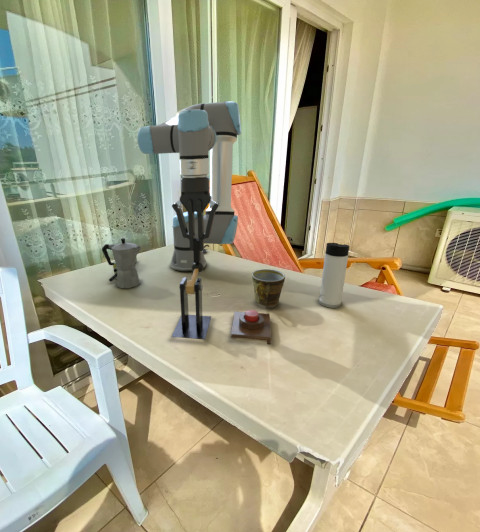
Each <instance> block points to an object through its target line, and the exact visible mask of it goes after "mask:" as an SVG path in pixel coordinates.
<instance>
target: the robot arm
mask: <svg viewBox="0 0 480 532" xmlns="http://www.w3.org/2000/svg"><path fill="white" fill-rule="evenodd" d="M241 134H242V125H241V114H240V106H239V104H238V102H236V101H226V100H224V101H217V102H206V103H195V104H193V105H190V106H187V107H185V108H183V109H180V110H178V111H177V112H176V113H175V114H174V115H173V117H171V118H169V119H166V120H164V121H163V122H161V123H158V124H156V125H147V126H141V127H140V128H139V129H138V131H137V135H136V136H137V145H138V149H139V150H140V152H141V153H143V154H144V155H158V154H159V155H160V154H161V155H162V154H178V155H179V175H180V176H182V177H181V178H180V196H179V200H177V201H176V202H174V203H172V205H171V208H172V210H173V211H174V212H175V215H174V216H173V218H172V235H173V252H172V256H171V260H170V267H171V269H172V270H174V271H177V272H188V273H189V272H194V271H193V270H192V265H193V263H199V262H201V263H202V264H203V269H204V268H205V267H206V266H207V260H206V257H205V255H204V254H206V253H207V249H205V248H206V247H208V248H209V247H210V245H209V244H211V245H231V244H233V243H234V241H235V238H236V235H237V230H238V222H239V216H238V215H237V214H235V210H234V209H233V207H232V179H233V150H234V149H233V148H234V144H235V143H236V142H237V140H238V136H240V135H241ZM209 152H210V155H209ZM208 175H209V176H208ZM207 207H208V208H207ZM182 208H184V209H185V210H186V211H185V212H183V209H182ZM204 213H205V214H204Z"/></svg>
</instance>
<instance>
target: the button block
mask: <svg viewBox="0 0 480 532" xmlns="http://www.w3.org/2000/svg"><path fill="white" fill-rule="evenodd" d="M245 312H246V311H234V312H233V320H232V326H231V333H230V338H232V339H233V338H234V339H244V340H245V339H246V340H255V341H266V345H271V344H272V332H271V331H272V329H271V317H270V313H264V312H258V313H259V316H258V321H255V322H250V321H247V320H245Z"/></svg>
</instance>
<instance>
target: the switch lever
mask: <svg viewBox="0 0 480 532" xmlns="http://www.w3.org/2000/svg"><path fill="white" fill-rule="evenodd" d="M192 270H193V271H192V272H193V273H192V275H191V278H190V280H189V279H187V284H186V294H188V295H195V283H196V281H197V279H198V274H200V273H202V272H203V271H204V268H203V264H202V263H201V262H199V263H193V265H192Z"/></svg>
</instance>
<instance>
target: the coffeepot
mask: <svg viewBox="0 0 480 532" xmlns="http://www.w3.org/2000/svg"><path fill="white" fill-rule="evenodd" d="M120 241H121V242H120V243H117V244H114V243H113V244H112V243H111V244H108V243H106V244H104V245H103V247H102V248H101V252H102V253H103V255H104V258H105V259H106V262H107V264H108V265H109V266H113V265H114V263H113V261H112V260H111V256H110V255H109V252H108V251H107V250H109V251H110V250H111V252H112V255H113V258H114V261H115V262H116V265H117V279H116V287H117V288H119V289H132V288H135V287H137V286H139V285H140V284H141V281H140V277H139V273H138V270H137V267H136V263H137V262H136V257H137V256H138V253H139V252H140V251H141V250H142V246H140V245H137V244H136V243H132V242H126V238H120Z"/></svg>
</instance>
